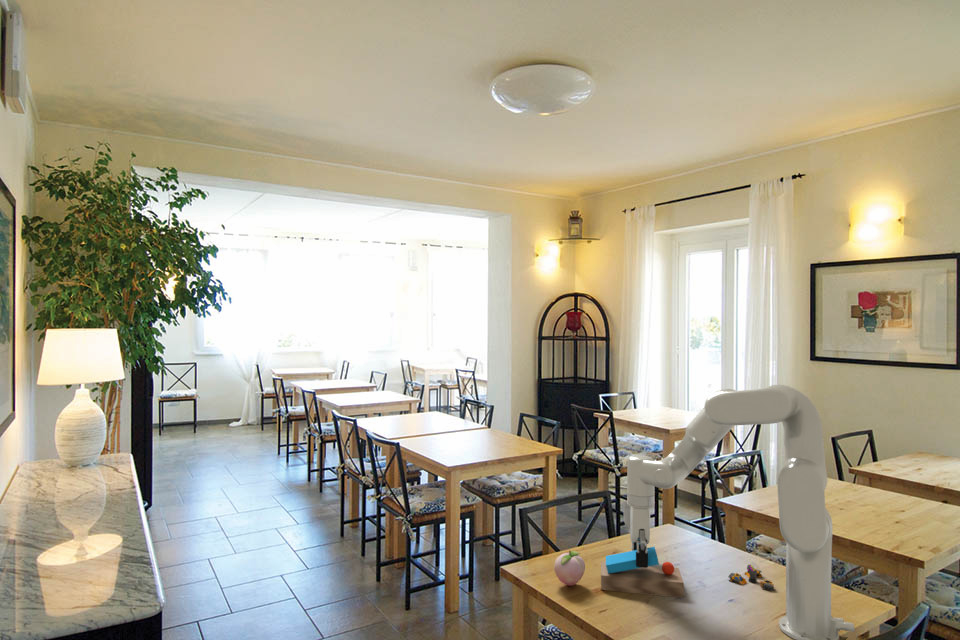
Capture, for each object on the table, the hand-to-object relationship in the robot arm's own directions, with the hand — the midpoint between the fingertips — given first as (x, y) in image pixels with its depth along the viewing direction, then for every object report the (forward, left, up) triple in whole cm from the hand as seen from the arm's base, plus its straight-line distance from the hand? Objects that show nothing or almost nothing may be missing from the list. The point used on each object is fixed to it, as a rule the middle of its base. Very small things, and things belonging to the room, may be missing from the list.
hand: (640, 560), depth 164 cm
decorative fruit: (+20, +4, -7) cm, 22 cm away
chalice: (+1, -17, -7) cm, 18 cm away
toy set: (-33, -9, -8) cm, 35 cm away
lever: (0, 0, -3) cm, 3 cm away
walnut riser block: (0, 0, -7) cm, 7 cm away
